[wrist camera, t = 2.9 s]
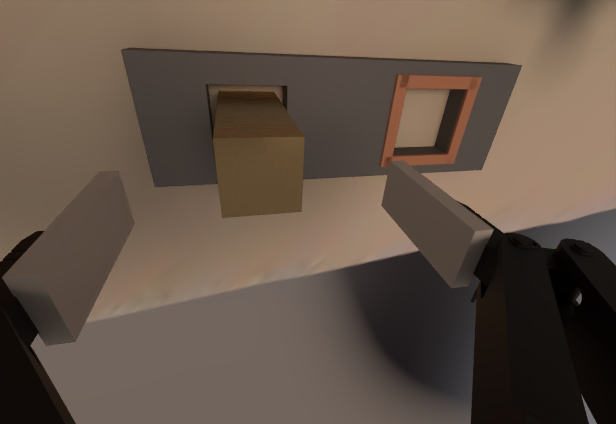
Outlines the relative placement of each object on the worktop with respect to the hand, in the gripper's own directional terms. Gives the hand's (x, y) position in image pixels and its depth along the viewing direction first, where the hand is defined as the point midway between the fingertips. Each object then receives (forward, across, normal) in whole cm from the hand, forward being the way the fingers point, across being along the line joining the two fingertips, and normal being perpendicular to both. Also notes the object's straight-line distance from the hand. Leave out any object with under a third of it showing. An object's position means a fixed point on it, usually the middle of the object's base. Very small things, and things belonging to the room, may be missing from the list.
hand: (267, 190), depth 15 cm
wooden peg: (+13, 0, 0) cm, 13 cm away
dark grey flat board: (+13, +8, 0) cm, 15 cm away
